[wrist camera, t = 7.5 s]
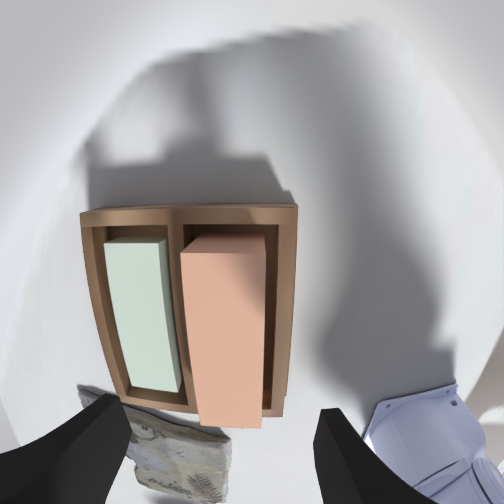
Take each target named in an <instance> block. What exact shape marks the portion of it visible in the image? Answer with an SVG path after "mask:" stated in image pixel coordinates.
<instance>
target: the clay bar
mask: <svg viewBox="0 0 504 504" xmlns="http://www.w3.org/2000/svg"><path fill="white" fill-rule="evenodd" d="M180 255H181V271H182V284H183V296H184V307H185V318H186V327H187V336H188V345H189V353H190V361H191V368H192V375H193V382H194V389H195V395H196V401H197V408H198V413H199V419H200V425H203V426H214V427H230V428H261V420H262V393H263V362H264V325H265V280H266V249H265V239H264V232H203V233H202V234H201V235H200V236H198V237H197V238H196V239H195V240H194V241H193V242H192V243H191V244H190V245H188V246H187V247H186V248H185V249H184V250H183V251H182V252H181V253H180Z"/></svg>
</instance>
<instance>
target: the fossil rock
mask: <svg viewBox="0 0 504 504" xmlns="http://www.w3.org/2000/svg"><path fill="white" fill-rule="evenodd" d="M78 395H79V397H80V399H81V403H82V406H83V408H84V409H85V408H86V407H87V406H89V405H90V404H92V403H93V402H94V401H96V400H97V399H98V398H100V397H99V396H96V395H94V394H92V393H90V392H88V391H86V390H81V391H79V393H78ZM122 405H123V404H122ZM123 408H124V411H125V413H126V416H127V418H128V421H129V423H130V426H131V428H132V435H131V439H130V442H129V446H128V449H127V452H126V456H127V457H128V458H130V459H132V460H134V461H135V463H136V465H137V467H138V468H137V469H136V473H135V474H136V478H137V481H138V482H139V483H140V484H142V485H144V486H146V487H148V488H150V489H154V490H157V491H160V492H164V493H168V494H171V495H175V496H178V497H181V498H184V499H188V500H193V501H197V502H201V503H204V504H216V503H225V502H226V497H227V493H228V485H227V483H228V479H227V478H228V471H229V468H230V465H231V460H232V459H231V455H232V448H231V447H232V441H231V438H224V437H220V436H215V435H211V434H208V433H205V432H202V431H198V430H196V429H193V428H190V427H185V426H179V425H175V424H172V423H169V422H167V421H164V420H161V419H159V418H157V417H155V416H153V415H150V414H148V413H146V412H143V411H141V410H136V409H133V408H130V407H128V406H126V405H123Z"/></svg>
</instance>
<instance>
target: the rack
mask: <svg viewBox="0 0 504 504" xmlns="http://www.w3.org/2000/svg"><path fill="white" fill-rule="evenodd" d="M297 220H298V205H297V204H271V203H212V204H169V205H144V206H124V207H108V208H98V209H94V210H91V211H87V212H82V213H80V225H81V236H82V245H83V253H84V261H85V268H86V274H87V281H88V286H89V292H90V297H91V302H92V307H93V312H94V316H95V321H96V325H97V329H98V333H99V337H100V341H101V345H102V349H103V352H104V356H105V359H106V363H107V366H108V369H109V372H110V375H111V378H112V382H113V385H114V387H115V390H116V393H117V396H119V397H120V400H121V402H123V403H128V404H133V405H138V406H143V407H149V408H155V409H161V410H168V411H175V412H183V413H192V414H199V413H198V408H197V401H196V395H195V389H194V382H193V375H192V368H191V361H190V353H189V345H188V336H187V327H186V318H185V307H184V296H183V284H182V271H181V255H180V253H181V252H182V251H183V250H184V249H185V248H186V247H187V246H188V245H190V244H191V243H192V242H193V241H194V240H195V239H196V238H197V237H198V236H200V235H201V234H202V233H203V232H264V239H265V249H266V280H265V325H264V362H263V393H262V417H283V407H284V397H285V396H286V392H287V382H288V372H289V360H290V349H291V336H292V322H293V307H294V291H295V272H296V250H297ZM132 236H168V242H169V257H170V271H171V282H172V293H173V303H174V312H175V321H176V329H177V337H178V344H179V351H180V358H181V364H182V371H183V380H182V383H181V385H180V388H179V391H178V392H170V391H162V390H155V389H148V388H142V387H136V386H132V384H131V381H130V377H129V374H128V370H127V366H126V363H125V359H124V355H123V351H122V347H121V343H120V339H119V334H118V330H117V325H116V320H115V315H114V310H113V305H112V299H111V293H110V287H109V280H108V274H107V266H106V258H105V249H104V243H106V242H108V241H111V240H113V239H115V238H118V237H132Z"/></svg>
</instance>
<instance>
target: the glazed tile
mask: <svg viewBox="0 0 504 504" xmlns="http://www.w3.org/2000/svg"><path fill="white" fill-rule="evenodd" d="M104 249H105V258H106V266H107V274H108V280H109V287H110V293H111V299H112V305H113V310H114V315H115V320H116V325H117V330H118V334H119V339H120V343H121V347H122V351H123V355H124V359H125V363H126V366H127V370H128V374H129V377H130V381H131V384H132V386H136V387H142V388H148V389H155V390H162V391H170V392H178V391H179V388H180V385H181V383H182V380H183V371H182V364H181V358H180V351H179V344H178V337H177V329H176V321H175V312H174V303H173V293H172V282H171V271H170V257H169V242H168V236H132V237H118V238H115V239H113V240H111V241H108V242H106V243H104Z"/></svg>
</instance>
